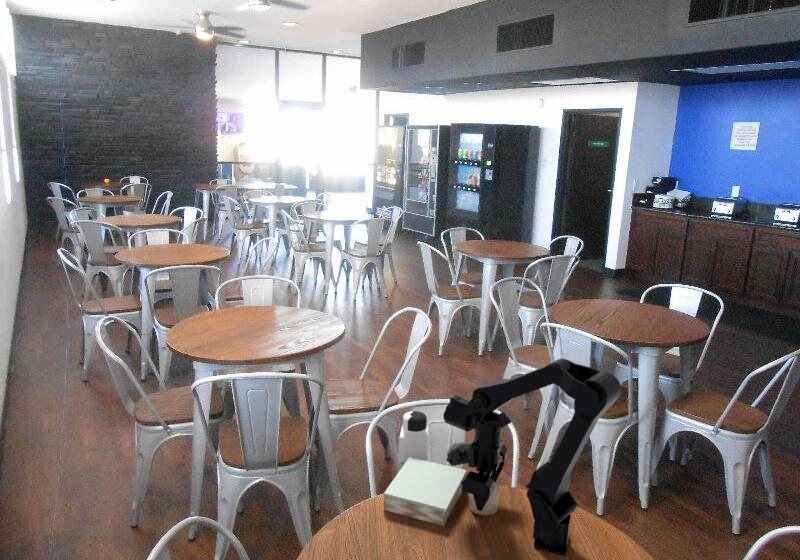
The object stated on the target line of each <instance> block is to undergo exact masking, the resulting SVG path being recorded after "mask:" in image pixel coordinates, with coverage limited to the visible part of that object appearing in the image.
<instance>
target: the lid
mask: <svg viewBox="0 0 800 560" xmlns="http://www.w3.org/2000/svg"><path fill="white" fill-rule="evenodd" d="M466 473H467V469H463V468H458V467H456V466H451V465H450V466H449V465H445V464H440V463H437V462H432V461H429V460H427V461H424V460H420V459H416V458H411V457H409V458H408V460H407V461H406V463H403V466H401V468H400V469H399V471H398V473H397V474H396V475H395V477H394V478H393V480H392V481H391V482H390V484H389V486H388V487H387V488H386V489H385V491H384V493H383V498H384V497H388V498H392V499H396V500H400V501H404V502H407V503H411V504H415V505H419V506H423V507H426V508H430V509H434V510H438V511H442V512H447V510H448V508H449V506H450V504H451V502H452V500H453V498H454V496H455V494H456V492H457V490H458V488H459V486H460V484H461V481H462V479H463V478H464V476H465V474H466Z"/></svg>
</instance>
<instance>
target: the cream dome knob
mask: <svg viewBox="0 0 800 560" xmlns="http://www.w3.org/2000/svg"><path fill="white" fill-rule="evenodd" d="M493 486H494V489H493V491H492V493H491V495H490V497H489V499H488V500H487V502H486V504H485V506H484V508H483V510H482V511H479V510H477V508H476V504H475V500H474V496H473V494H470V493H468V494H469V496H468V508H469V510H470V511H471V512H472V513H474V514H476V515H479V516H485V517H486V516H492V515H494V514H496V513H497V512H498V506H499V505H498V504H499V492H500V487H499V485H498V484H497V483H496V482H494V485H493Z"/></svg>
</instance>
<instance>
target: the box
mask: <svg viewBox="0 0 800 560" xmlns="http://www.w3.org/2000/svg"><path fill="white" fill-rule="evenodd" d="M462 493H463V492H462V490H461V484H460V486H459V488H458V490H457V492H456V494H455V496H454V498H453V500H452V502H451V504H450V506H449V508H448V510H447V512H442V511H438V510H434V509H430V508H426V507H423V506H419V505H415V504H411V503H407V502H404V501H400V500H396V499H392V498H388V497H384V496H383V511H387V512H391V513H393V514H397V515H402V516H406V517H409V518H412V519H413V518H414V519H416V520H420V521H423V522H427V523H432V524H435V525H437V526H442V527H444V526H445V525H446V523H447V521H448V520H449V517H450V516H451V514H452V512H453V510H454V508H455V507H456V504H457V503H458V501H459V499H460V496H461V495H462Z"/></svg>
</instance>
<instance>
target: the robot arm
mask: <svg viewBox="0 0 800 560" xmlns="http://www.w3.org/2000/svg"><path fill="white" fill-rule="evenodd" d="M618 379H619V378H617V377H616V376H615V375H614V374H612V373H610V372H608V371H600V370H598V369H596V368H594V367H590V366H587V365H583V364H578V363H576V362H573V361H571V360H569V359H566V358H558V359H556V360H554V361H552V362H550V363H548V364H547V365H544V366H542V367H540V368H537V369H534V370H532V371H528V372H527V373H526V372H525V373H524V374H522V375H518V376H517V377H516V376H515V377H514V378H513V377H512V378H502V379H501V378H500V379H496V380H492V381H489V382H487V383H485V384H483V385H480V386H479V387H476V388H475V389H474V390H473V391H472V395H471V397H472V398H471V399H470V400H468V399H466V398H463V397H462V396H459V395H457V394H455V395H452V396H451V397H449V403H447V405H446V408H445V409H444V412H443V416H442V417H443V420H444V423H446V424H448V425H450V426H452V427H455V428H458V429H460V430H462V431H464V432H467V433H468V432H471V431H472V430H473V429H474V437H473V438H474V439H473V441H466V442H465V441H463V442H455V443H453V444H452V445H450V446H449V449H448V450H447V451H446V452H447V454H446V457H447V458H446V462H447V463H449V465H450V466H451V467H456V466H461V465H464V464H468V467H469V468H473V469H474V468H475V471H476V472H474V471H470V470H469V471H468V472H466V474H465V476H464V478H463V479H462V481H461V490H462V493H466V494H469V493H470V494H473V496H474V500H475V504H476V508H477V510H479V511H482V510H483V508H484V506H485V504H486V502H487V500H488V499H489V497H490V495H491V493H492V491H493V489H494V486H493V485H494V482H495V483H496V482H497V480H498V478H499V476H500V474H501V473H502V470H503V468H504V466H505V464H506V463H505V462H507V461H506V460H507V458H508V455H509V454H508V453H509V449H508V448H507V447H506V446H505V444H503V439H502V429H503V428H505V427H507V426H508V425H511V423H512V420H511V418H510V417H509V416H507V414H506V413H505V412H504V411H503V412H501V413H499V412H495V411H496V410H498V409H500V408H502V407H503V406H505V405H507V404H508V403H510V402H511V401H513V400H514V399H515V398H518V397H521V396H523V395H527V394H529V393H531V392H534V391H537V390H540V389H543V388H545V387H548V386H551V385H556V386H558V388H560V389H561V390H562V391H563V393H565V394H566V395H567V396H568V397H570V398H571V399H573V400H574V401H573V406H574V407H573V408H574V411H573V412H574V413H573V416H572V417H571V419H570V422H569V424H568V426H567V428H566V429H565V432H564V434H563V436H562V437H561V440H560V441H559V444H558V445H557V447H556V450H555V452H554V454H553V456H552V458H551V460H550V461H546V462H545V463H543V464H542V465H541V466H540V467H538V468H537V469H535V470H534V471H533V472H532V474H531V477H530V481H529V483H528V484H526V485H525V488H527V491H526V498H527V499H528V501H529V504H530V509H531V513H532V518H533V520H534V522H533V530H532V531H533V533H532V534H533V535H532V539H534V542H533V547H534V548H536V549H539V550H544V551H548V552H551V553H555V554H559V555H562V556H566V555H567V553H568V549H569V543H570V537H571V536H570V527H571V519H572V517H571V515H572V513H574V512H575V511H576V509H577V508H578V505H579V503H578V502H577V501H576V499H575V498H574V496H573V495H572V493H571V492H570V490H569V488H570V485H571V473H572V471H573V469H574V466H575V464H576V462H577V461H578V459H579V458H580V455H581V453H582V451H583V449H584V448H585V446H586V443H587V442H588V440H589V438H590V437H591V435H592V432H593V430H594V429H595V426H596V425H597V423H598V421H599V420H600V419H601V418H602V416H604V414H605V413H606V412H607V411H608V410H609V409H611V407H612V406H613V405H614V403H615V402H616V401H617V400H619V398H620V396H621V394H622V391H623V389H622V386H621V383H620V380H618Z"/></svg>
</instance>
